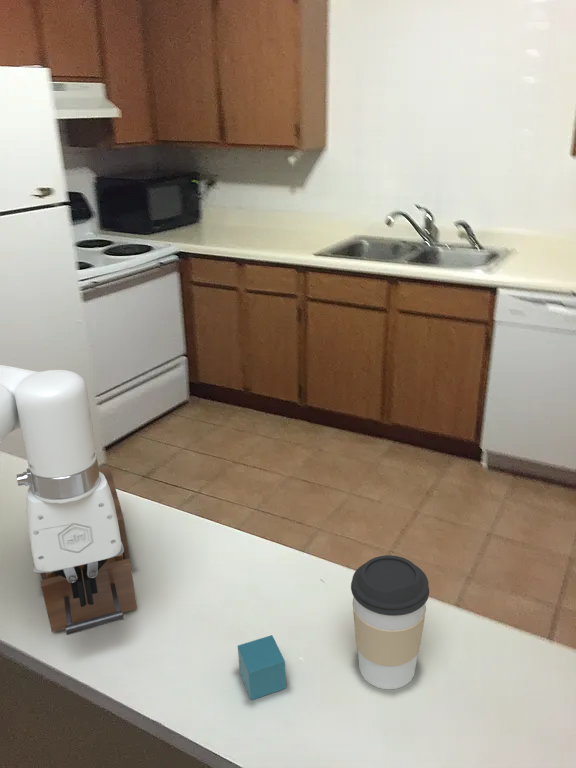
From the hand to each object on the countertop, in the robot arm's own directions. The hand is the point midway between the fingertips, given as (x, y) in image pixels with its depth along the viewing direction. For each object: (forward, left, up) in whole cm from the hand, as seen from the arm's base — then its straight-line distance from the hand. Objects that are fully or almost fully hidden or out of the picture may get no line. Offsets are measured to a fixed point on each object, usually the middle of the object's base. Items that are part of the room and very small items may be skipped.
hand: (86, 598), depth 85 cm
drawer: (+1, +7, -7) cm, 10 cm away
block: (+19, -14, -8) cm, 25 cm away
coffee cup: (+34, -18, -8) cm, 39 cm away
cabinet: (+1, +21, -8) cm, 22 cm away
